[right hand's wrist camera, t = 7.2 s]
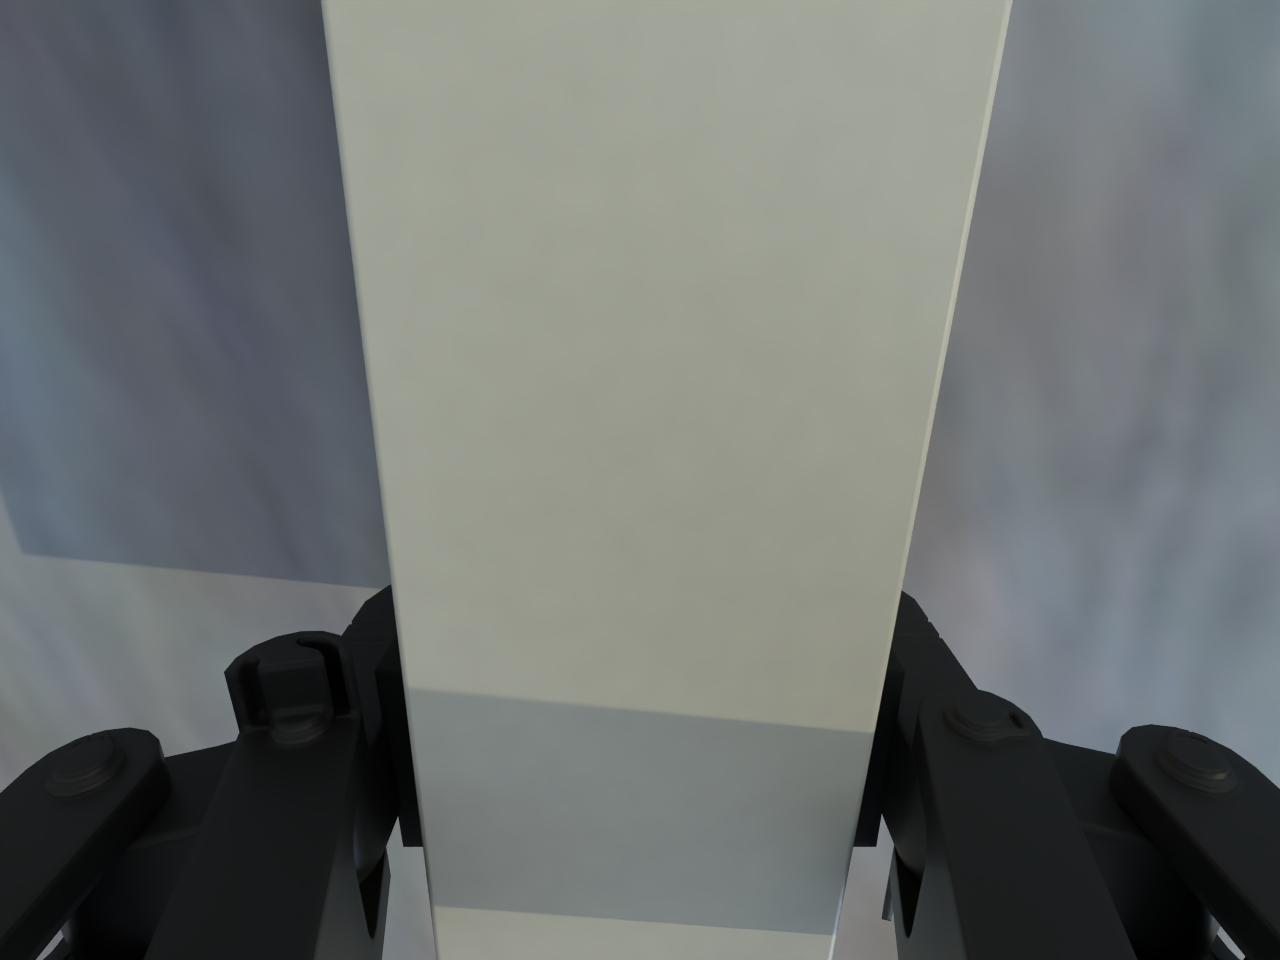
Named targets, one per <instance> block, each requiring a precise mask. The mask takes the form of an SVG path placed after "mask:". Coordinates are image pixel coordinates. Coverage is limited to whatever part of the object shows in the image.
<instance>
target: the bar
mask: <svg viewBox="0 0 1280 960" xmlns="http://www.w3.org/2000/svg"><path fill="white" fill-rule="evenodd" d="M1012 1H1013V0H321V7H322V15H323V23H324V31H325V40H326V48H327V56H328V65H329V73H330V81H331V89H332V98H333V106H334V114H335V122H336V131H337V139H338V147H339V155H340V164H341V172H342V180H343V189H344V197H345V205H346V213H347V222H348V230H349V238H350V246H351V255H352V263H353V271H354V279H355V288H356V296H357V304H358V313H359V321H360V329H361V337H362V346H363V354H364V362H365V370H366V379H367V387H368V395H369V403H370V412H371V420H372V428H373V437H374V445H375V453H376V461H377V470H378V478H379V486H380V494H381V503H382V511H383V519H384V527H385V536H386V544H387V552H388V561H389V569H390V577H391V585H392V594H393V602H394V610H395V618H396V627H397V635H398V643H399V651H400V660H401V668H402V676H403V685H404V693H405V701H406V709H407V718H408V726H409V734H410V742H411V751H412V759H413V767H414V775H415V784H416V792H417V800H418V809H419V817H420V825H421V833H422V842H423V850H424V858H425V866H426V875H427V883H428V891H429V899H430V908H431V916H432V924H433V933H434V941H435V949H436V957H437V960H832V956H833V950H834V945H835V940H836V935H837V929H838V924H839V919H840V913H841V908H842V903H843V897H844V892H845V887H846V881H847V876H848V871H849V866H850V860H851V855H852V850H853V844H854V839H855V834H856V828H857V823H858V818H859V813H860V807H861V802H862V797H863V791H864V786H865V781H866V775H867V770H868V765H869V760H870V754H871V749H872V744H873V738H874V733H875V728H876V722H877V717H878V712H879V707H880V701H881V696H882V691H883V685H884V680H885V675H886V669H887V664H888V659H889V653H890V648H891V643H892V638H893V632H894V627H895V622H896V616H897V611H898V606H899V600H900V595H901V590H902V585H903V579H904V574H905V569H906V563H907V558H908V553H909V547H910V542H911V537H912V532H913V526H914V521H915V516H916V510H917V505H918V500H919V494H920V489H921V484H922V479H923V473H924V468H925V463H926V457H927V452H928V447H929V441H930V436H931V431H932V425H933V420H934V415H935V410H936V404H937V399H938V394H939V388H940V383H941V378H942V372H943V367H944V362H945V357H946V351H947V346H948V341H949V335H950V330H951V325H952V319H953V314H954V309H955V304H956V298H957V293H958V288H959V282H960V277H961V272H962V266H963V261H964V256H965V250H966V245H967V240H968V235H969V229H970V224H971V219H972V213H973V208H974V203H975V197H976V192H977V187H978V182H979V176H980V171H981V166H982V160H983V155H984V150H985V144H986V139H987V134H988V129H989V123H990V118H991V113H992V107H993V102H994V97H995V91H996V86H997V81H998V76H999V70H1000V65H1001V60H1002V54H1003V49H1004V44H1005V38H1006V33H1007V28H1008V22H1009V17H1010V12H1011V7H1012Z"/></svg>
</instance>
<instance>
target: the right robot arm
mask: <svg viewBox="0 0 1280 960" xmlns="http://www.w3.org/2000/svg"><path fill="white" fill-rule="evenodd" d="M224 674H225V678H226V681H227V685H228V689H229V693H230V697H231V701H232V705H233V708H234V712H235V716H236V720H237V724H238V728H239V735H238V737H237V740H236V741H234V742H230V743H227V744H223V745H220V746H216V747H211V748H206V749H202V750H197V751H193V752H188V753H183V754H179V755H174V756H170V757H164V754H163V751H162V748H161V745H160V741H159V739H158V738H157V737H155V736H154V735H153V734H152V733H151V732H149V731H148V730H142V729H136V728H121V729H113V730H105V731H101V732H98V733H94V734H92V735H87V736H84V737H81V738H79V739H76V740H74V741H72V742H70V743H68V744H66V745H64V746H62V747H60V748H58V749H56V750H54V751H52V752H50V753H48V754H47V755H46V756H44V757H43V758H42V759H40V760H39V761H37V762H36V763H35V764H33V765H32V766H31V767H29V768H28V769H27V770H25V771H24V772H23V773H22V774H21V775H20V776H19V777H18V778H16V779H15V780H14V781H13V782H12V783H11V784H10V785H9V786H8V787H7V788H5V789H4V790H3V791H2V792H1V793H0V960H36V959H37V957H38V956H39V955H40V954H41V952H42V951H43V950H44V949H45V947H46V946H47V945H48V944H49V943H50V941H51V940H52V939H53V938H54V936H55V935H56V934H57V933H58V931H59V930H60V929H61V932H62V934H63V936H64V937H63V938H62V940H61V941H60V942H59V943H58V945H57V946H56V947H55V948H54V950H53V951H52V952H51V953H50V954H49V955H48V956H47V957H46V958H44V959H43V960H382V952H383V943H384V933H385V924H386V914H387V905H388V896H389V886H390V877H391V875H390V868H389V861H388V855H387V850H386V845H387V842H388V840H389V837H390V835H391V832H392V830H393V827H394V825H395V822H396V820H397V817H399V823H400V829H401V835H402V841H403V847H423V842H422V833H421V825H420V817H419V809H418V800H417V792H416V784H415V775H414V767H413V759H412V751H411V742H410V734H409V726H408V718H407V709H406V701H405V693H404V685H403V676H402V668H401V660H400V651H399V643H398V635H397V627H396V618H395V610H394V602H393V594H392V585H389V586H387V587H386V588H384V589H383V590H381V591H380V592H379V593H377V594H376V595H374V596H373V597H371V598H370V599H368V600H367V601H365V603H364V604H363V606H362V607H361V609H360V610H359V611H358V613H357V614H356V616H355V617H354V619H353V620H352V625H349V626H348V627H347V629H346V630H345V632H344V633H343V634H342V636H340V635H337V634H333V633H329V632H325V631H300V632H296V633H291V634H287V635H282V636H277V637H275V638H272V639H270V640H267V641H265V642H262V643H260V644H258V645H255V646H253V647H252V648H250V649H249V650H247V651H246V652H244V653H243V654H241V655H240V656H238V657H237V658H235V660H234V661H233V662H232V663H231V664H230V666H229V667H228V668H227V669H226V670H225V672H224ZM881 814H882V815H883V817H884V820H885V822H886V825H887V827H888V830H889V832H890V835H891V837H892V840H893V842H894V849H893V855H892V861H891V866H890V872H889V878H888V883H887V889H886V894H885V900H884V906H883V913H882V919H884V920H888V921H891V918H892V913H894V922H895V931H896V941H897V950H898V960H1240V959H1238V958H1237V957H1236V956H1235V955H1234V954H1233V953H1232V952H1231V951H1230V950H1229V949H1228V947H1227V946H1226V945H1225V944H1224V942H1223V941H1222V940H1221V939H1220V937H1219V936H1218V935H1217V932H1218V930H1219V928H1220V926H1221V927H1222V928H1223V929H1224V931H1225V932H1226V933H1227V934H1228V935H1229V937H1230V938H1231V939H1232V940H1233V942H1234V943H1235V944H1236V945H1237V947H1238V948H1239V949H1240V950H1241V951H1242V953H1243V954H1244V955H1245V958H1244V960H1280V789H1279V788H1278V787H1277V786H1276V785H1275V784H1273V783H1272V782H1271V781H1270V780H1269V779H1268V778H1267V777H1266V776H1265V775H1263V774H1262V773H1261V772H1260V771H1259V770H1258V769H1257V768H1256V767H1255V766H1253V765H1252V764H1250V763H1249V762H1248V761H1246V760H1245V759H1244V758H1242V757H1241V756H1239V755H1238V754H1237V753H1235V752H1234V751H1233V750H1231V749H1229V748H1227V747H1225V746H1223V745H1221V744H1219V743H1217V742H1215V741H1213V740H1211V739H1209V738H1207V737H1205V736H1203V735H1200V734H1197V733H1194V732H1189V731H1188V730H1184V729H1180V728H1176V727H1169V726H1160V725H1152V724H1150V725H1144V726H1138V727H1132V728H1131V729H1130V730H1128V731H1127V732H1126V733H1125V734H1124V735H1122V736H1121V739H1120V743H1119V746H1118V749H1117V752H1116V755H1115V754H1111V753H1106V752H1101V751H1097V750H1092V749H1087V748H1083V747H1078V746H1074V745H1069V744H1064V743H1060V742H1057V741H1053V740H1050V739H1046V738H1043V736H1042V734H1041V731H1040V730H1039V728H1038V727H1037V726H1036V724H1035V723H1034V721H1033V720H1032V719H1031V717H1030V716H1029V715H1028V714H1026V713H1025V712H1024V711H1022V710H1021V709H1020V708H1018V707H1017V706H1016V705H1014V704H1013V703H1012V702H1010V701H1008V700H1005V699H1003V698H1001V697H999V696H997V695H995V694H992V693H990V692H986V691H982V690H978V689H977V688H976V686H975V685H974V683H973V682H972V680H971V679H970V678H969V676H968V675H967V673H966V672H965V670H964V669H963V668H962V666H961V665H960V663H959V662H958V660H957V659H956V658H955V656H954V655H953V653H952V652H951V650H950V649H949V648H948V646H947V645H946V643H945V642H944V640H943V639H942V638H939V633H938V632H937V630H936V629H935V628H934V626H933V625H932V623H931V622H928V618H927V616H926V615H925V613H924V612H923V610H922V609H921V608H920V606H919V605H918V603H917V602H916V600H915V599H914V598H912V597H911V596H909V595H908V594H906V593H905V592H903V591H902V590H901V595H900V600H899V606H898V611H897V616H896V622H895V627H894V632H893V638H892V643H891V648H890V653H889V659H888V664H887V669H886V675H885V680H884V685H883V691H882V696H881V701H880V707H879V712H878V717H877V722H876V728H875V733H874V738H873V744H872V749H871V754H870V760H869V765H868V770H867V775H866V781H865V786H864V791H863V797H862V802H861V807H860V813H859V818H858V823H857V828H856V834H855V839H854V844H853V847H876V845H877V839H878V833H879V826H880V820H881Z"/></svg>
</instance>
